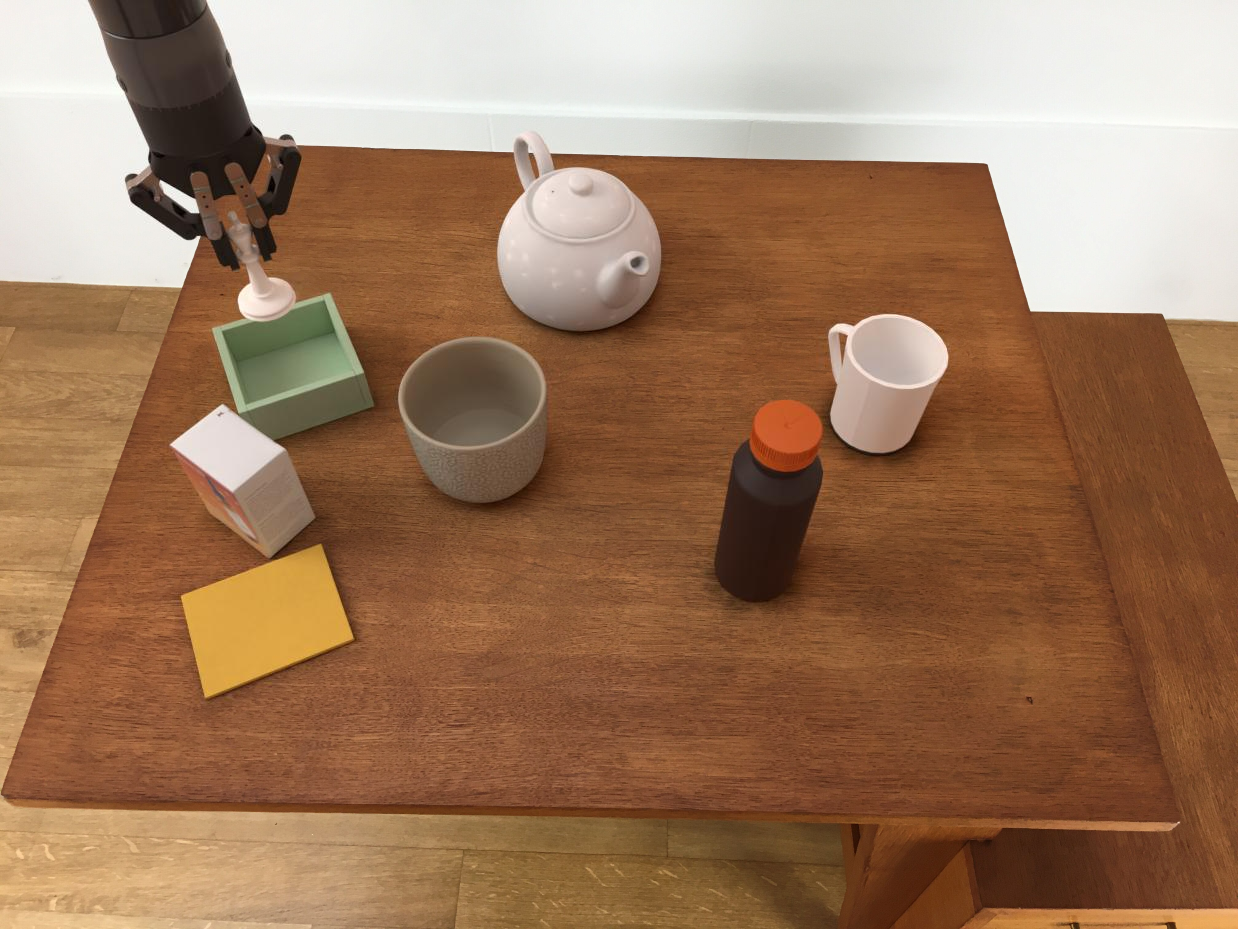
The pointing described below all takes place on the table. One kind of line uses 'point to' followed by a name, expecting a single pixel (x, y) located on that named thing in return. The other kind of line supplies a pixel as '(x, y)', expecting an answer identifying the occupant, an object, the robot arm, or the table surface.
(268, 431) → the sage bin
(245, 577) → the ochre mat
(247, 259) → the chess piece
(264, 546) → the small box
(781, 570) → the bottle
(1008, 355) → the table surface
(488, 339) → the planter
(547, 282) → the teapot
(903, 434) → the mug
